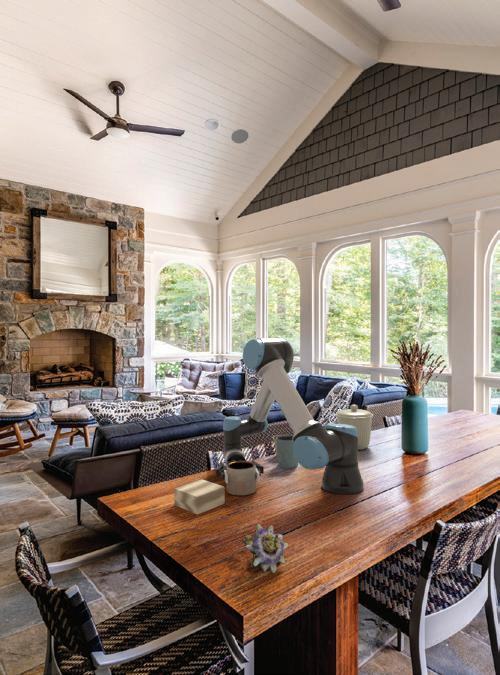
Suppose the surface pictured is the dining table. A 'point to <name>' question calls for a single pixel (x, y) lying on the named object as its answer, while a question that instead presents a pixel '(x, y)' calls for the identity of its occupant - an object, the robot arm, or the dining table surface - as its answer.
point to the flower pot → (276, 443)
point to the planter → (241, 478)
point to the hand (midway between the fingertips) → (242, 478)
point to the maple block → (199, 496)
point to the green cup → (286, 451)
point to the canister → (357, 423)
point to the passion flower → (266, 548)
